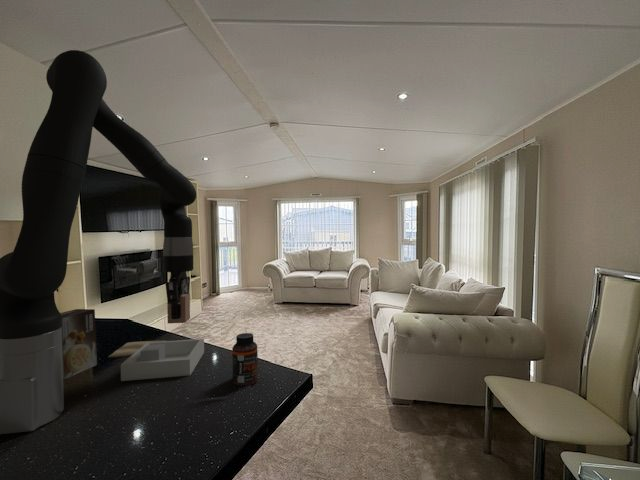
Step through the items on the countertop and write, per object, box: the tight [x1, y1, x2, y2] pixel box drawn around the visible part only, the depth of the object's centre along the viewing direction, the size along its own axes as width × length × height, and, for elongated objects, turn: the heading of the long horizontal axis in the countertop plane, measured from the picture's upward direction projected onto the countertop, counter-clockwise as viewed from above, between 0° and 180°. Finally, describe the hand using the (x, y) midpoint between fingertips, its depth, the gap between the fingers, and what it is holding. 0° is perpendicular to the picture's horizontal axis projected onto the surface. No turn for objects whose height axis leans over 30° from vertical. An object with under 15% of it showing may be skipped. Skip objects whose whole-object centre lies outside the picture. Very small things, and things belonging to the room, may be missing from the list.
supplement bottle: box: [231, 332, 259, 386], centre depth 74 cm, size 6×6×11 cm
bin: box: [120, 338, 205, 382], centre depth 84 cm, size 16×16×5 cm
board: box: [107, 339, 167, 359], centre depth 97 cm, size 12×12×1 cm
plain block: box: [141, 344, 165, 362], centre depth 83 cm, size 4×4×5 cm
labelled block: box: [166, 293, 191, 325], centre depth 84 cm, size 4×4×7 cm
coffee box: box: [60, 308, 98, 380], centre depth 81 cm, size 9×6×16 cm
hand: (179, 316), depth 84 cm, fingers closed on labelled block, 4 cm apart
